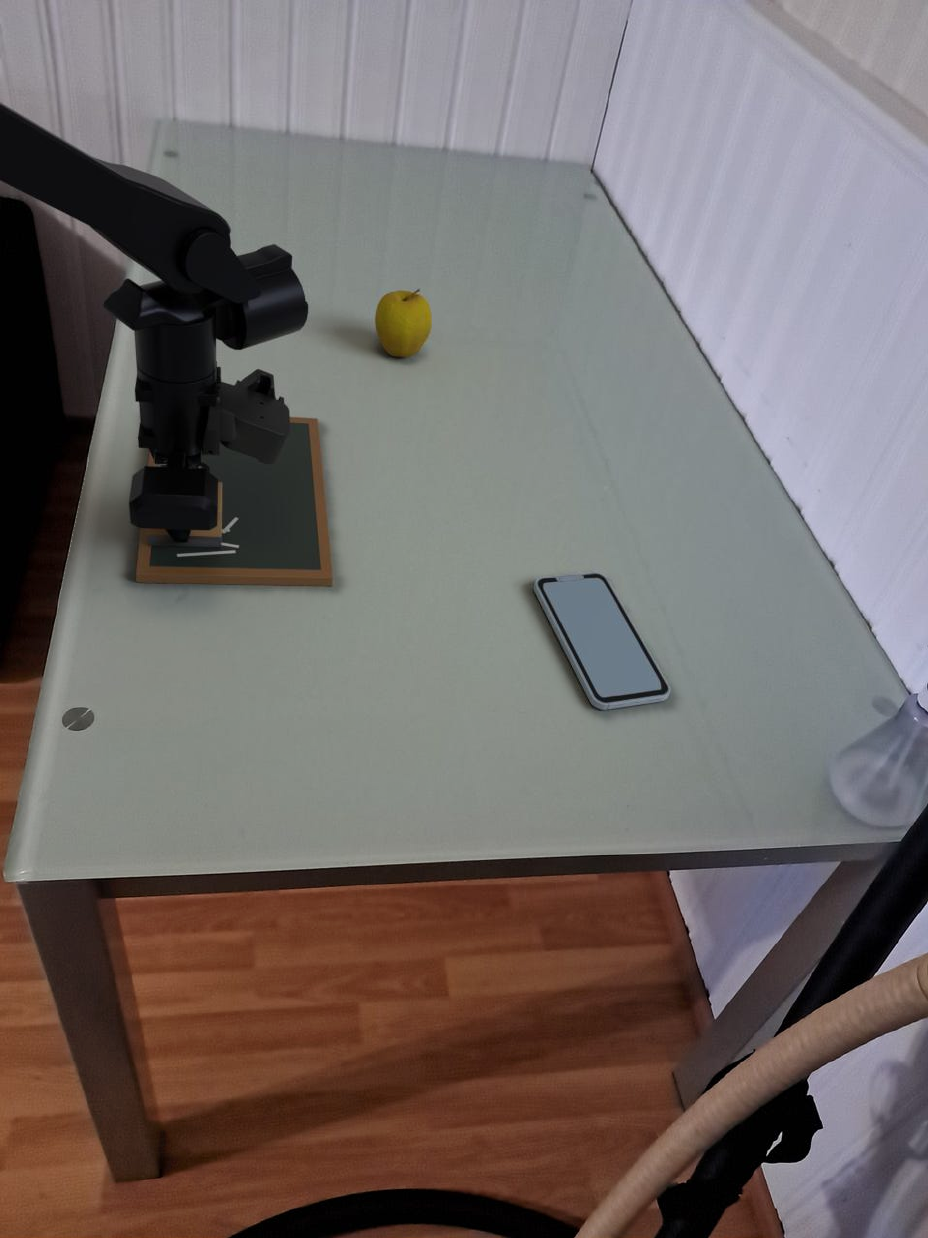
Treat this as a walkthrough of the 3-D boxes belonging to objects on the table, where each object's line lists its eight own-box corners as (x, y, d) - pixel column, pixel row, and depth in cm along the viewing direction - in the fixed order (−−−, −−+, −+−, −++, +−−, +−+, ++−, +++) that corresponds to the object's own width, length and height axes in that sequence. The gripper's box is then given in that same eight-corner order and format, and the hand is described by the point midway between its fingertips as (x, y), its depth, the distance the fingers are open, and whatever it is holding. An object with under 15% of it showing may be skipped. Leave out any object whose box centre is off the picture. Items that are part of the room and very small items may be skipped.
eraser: (147, 546, 81) (145, 508, 78) (151, 515, 83) (148, 478, 81) (221, 548, 82) (221, 511, 79) (222, 518, 85) (222, 481, 82)
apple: (436, 354, 114) (447, 290, 108) (405, 373, 109) (414, 308, 104) (393, 332, 116) (401, 269, 110) (360, 350, 111) (367, 285, 106)
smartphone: (596, 706, 77) (531, 577, 86) (593, 713, 77) (529, 584, 87) (675, 694, 79) (603, 570, 89) (672, 701, 80) (601, 577, 89)
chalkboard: (136, 582, 79) (135, 573, 78) (154, 416, 95) (154, 408, 94) (332, 586, 83) (333, 577, 82) (316, 426, 99) (317, 417, 98)
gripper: (290, 442, 67) (280, 602, 78) (283, 311, 80) (275, 464, 90) (121, 432, 64) (135, 600, 75) (142, 299, 77) (151, 458, 88)
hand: (182, 525), depth 82 cm, fingers closed on eraser, 4 cm apart
